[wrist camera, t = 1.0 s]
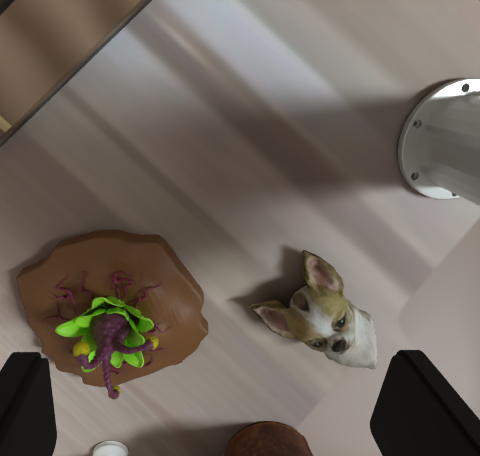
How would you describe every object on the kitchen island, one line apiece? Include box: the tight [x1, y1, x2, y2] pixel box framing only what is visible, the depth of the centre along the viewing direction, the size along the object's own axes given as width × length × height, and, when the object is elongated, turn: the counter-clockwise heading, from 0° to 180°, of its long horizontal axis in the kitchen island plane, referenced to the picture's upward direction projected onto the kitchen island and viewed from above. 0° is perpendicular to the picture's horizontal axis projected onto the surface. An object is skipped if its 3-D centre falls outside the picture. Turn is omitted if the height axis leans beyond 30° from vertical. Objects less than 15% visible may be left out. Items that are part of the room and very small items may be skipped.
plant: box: [16, 230, 208, 399], centre depth 38 cm, size 20×20×11 cm
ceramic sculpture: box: [249, 250, 377, 369], centre depth 42 cm, size 11×9×15 cm
